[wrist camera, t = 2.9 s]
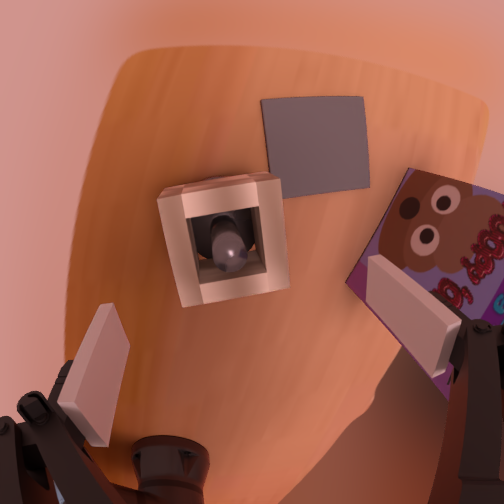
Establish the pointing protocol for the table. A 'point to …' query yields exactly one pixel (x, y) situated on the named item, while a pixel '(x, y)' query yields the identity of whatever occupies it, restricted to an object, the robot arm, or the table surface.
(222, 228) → the steel stand
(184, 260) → the square frame
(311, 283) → the table surface
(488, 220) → the cereal box
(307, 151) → the rubber mat
